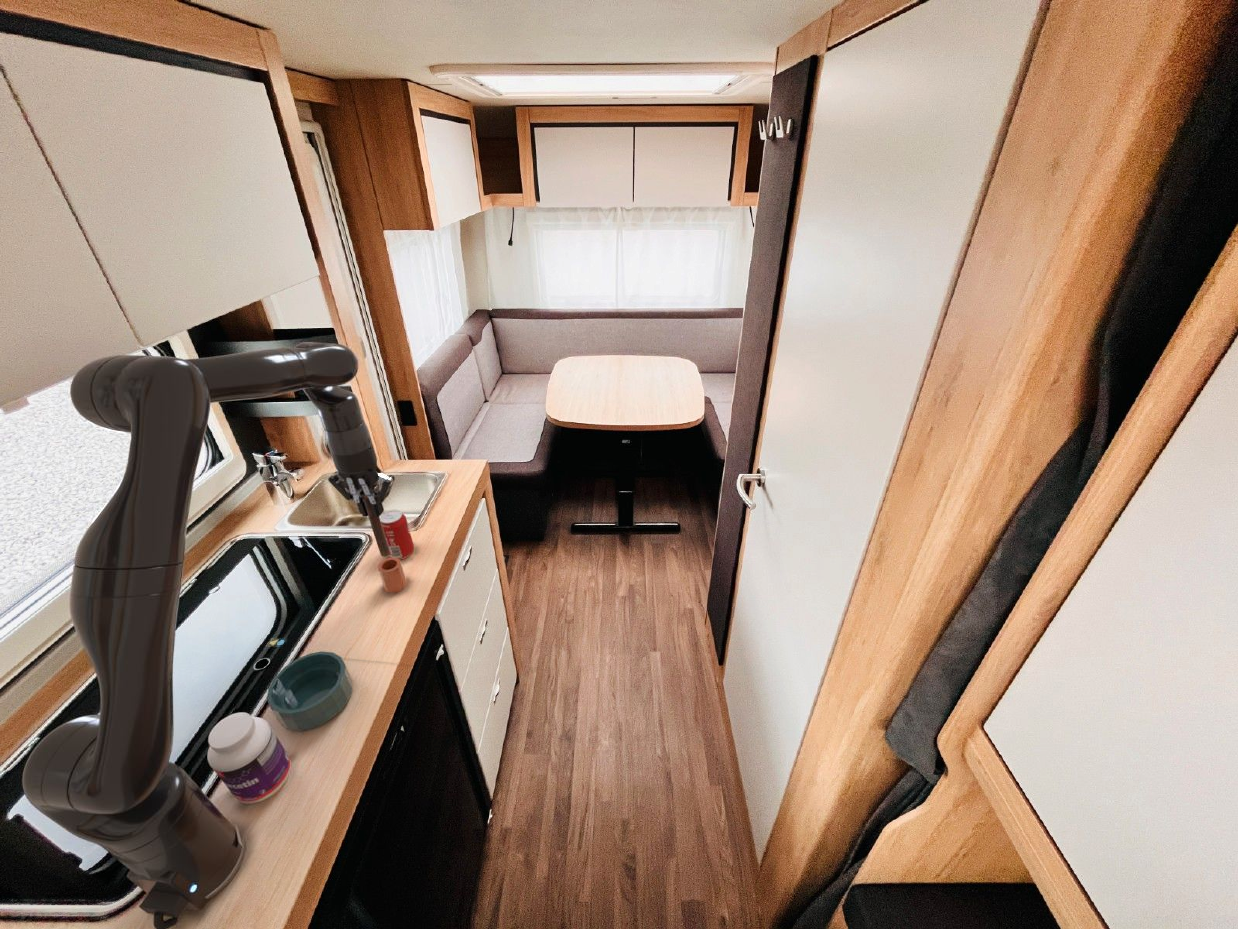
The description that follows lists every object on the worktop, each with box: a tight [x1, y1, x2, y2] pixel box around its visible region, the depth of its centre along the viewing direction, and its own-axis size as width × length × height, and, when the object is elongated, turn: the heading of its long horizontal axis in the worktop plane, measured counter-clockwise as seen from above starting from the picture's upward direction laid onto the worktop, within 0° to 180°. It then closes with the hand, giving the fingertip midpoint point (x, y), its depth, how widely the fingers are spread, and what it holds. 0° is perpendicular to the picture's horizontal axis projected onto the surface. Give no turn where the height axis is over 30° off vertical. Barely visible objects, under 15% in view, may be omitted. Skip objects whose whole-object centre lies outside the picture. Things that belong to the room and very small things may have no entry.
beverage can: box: [379, 509, 415, 560], centre depth 125 cm, size 6×6×12 cm
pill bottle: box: [206, 711, 292, 805], centre depth 79 cm, size 8×8×14 cm
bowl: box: [266, 651, 354, 732], centre depth 93 cm, size 12×13×6 cm
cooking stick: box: [362, 494, 390, 558], centre depth 109 cm, size 2×2×16 cm
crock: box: [377, 557, 408, 594], centre depth 117 cm, size 5×5×7 cm
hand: (373, 514), depth 107 cm, fingers closed on cooking stick, 2 cm apart
